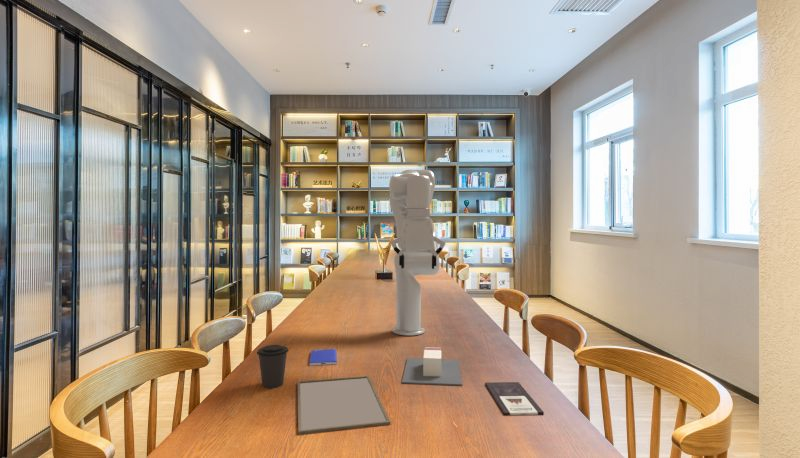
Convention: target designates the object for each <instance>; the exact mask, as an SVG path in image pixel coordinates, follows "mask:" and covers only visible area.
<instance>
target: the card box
mask: <svg viewBox="0 0 800 458" xmlns="http://www.w3.org/2000/svg"><path fill="white" fill-rule="evenodd" d="M442 354H443V349H442V347H429V346H428V347H427V346H425V347H424V348H423V358H422V359H423V376H439V377H441V367H442V359H443V357H442Z"/></svg>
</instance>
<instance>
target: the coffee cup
mask: <svg viewBox="0 0 800 458" xmlns="http://www.w3.org/2000/svg"><path fill="white" fill-rule="evenodd" d="M288 352H289V349H288V347H287V346H285V345H281V344H271V345H266V346H262V347H259V349H257V351H256V354H257V355H258V360H259V368H260V377H261V385H262V387H263V388H266V389H274V388H279V387H282V386H283V385H284V379H285V371H286V364H287V353H288Z"/></svg>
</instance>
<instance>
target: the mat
mask: <svg viewBox="0 0 800 458" xmlns="http://www.w3.org/2000/svg"><path fill="white" fill-rule="evenodd" d="M403 371H404V372H403V376H402V380H401V384H408V385H410V384H411V385H434V386H435V385H436V386H456V387H457V386H461V387H462V386H463V380H462V374H461V373H462V372H461V366H460V360H459V359H445V358H442V367H441V377H439V376H423V358H421V357H418V358H415V357H407V358H406V362H405V367H404V370H403Z"/></svg>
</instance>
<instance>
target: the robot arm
mask: <svg viewBox="0 0 800 458" xmlns="http://www.w3.org/2000/svg"><path fill="white" fill-rule="evenodd" d="M435 187H436V177H435V174H434V172H433V171H432V170H430V169H405V170H403V171H401V172H400V173H399V174H393V175H392V176H391V177H390V180H389V183H388V190H389V206H390V209H391V212H392V215H393V218H394V220H395V225H396V239H394V240H391V242H390V244H391V246H392V249H393V251H394V252H395V256H394V261H393V262H394V263H393V264H394V270H395V280H396V281H395V282H396V283H395V284H396V285H395V286H396V291H395V292H396V302H395V303H396V314H395V315H396V318H395V319H396V325H395V326H393V328H392V331H391V332H392V333H393V334H394V335H395V334H396V335H399V336H420V335H422V334H424V333H425V331H426V330H425V328H424V327H423V326H421V325H422V323H421V322H422V317H421V316H422V311H421V310H422V288H421V284H420V283H419V281H418V280H417V279H416V278H415V276H434V275H437V273H439V272H440V271H439V270H440V255H439V254H440V253H441V252H442V251H443V249H444V247H445V246H446V242H445V241H444V240H441V239H440V238H439V237H437V234H436V231H435V230H434V229H435V228H434V223H433V219H432V218H431V205H432V200H433V196H434V192H435ZM438 244H439V246H438Z"/></svg>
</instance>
